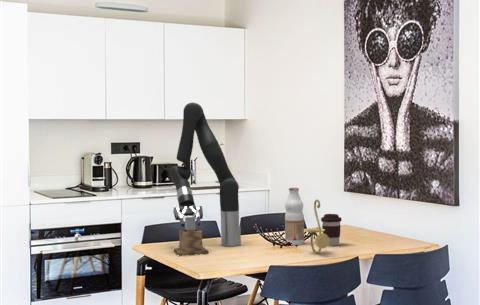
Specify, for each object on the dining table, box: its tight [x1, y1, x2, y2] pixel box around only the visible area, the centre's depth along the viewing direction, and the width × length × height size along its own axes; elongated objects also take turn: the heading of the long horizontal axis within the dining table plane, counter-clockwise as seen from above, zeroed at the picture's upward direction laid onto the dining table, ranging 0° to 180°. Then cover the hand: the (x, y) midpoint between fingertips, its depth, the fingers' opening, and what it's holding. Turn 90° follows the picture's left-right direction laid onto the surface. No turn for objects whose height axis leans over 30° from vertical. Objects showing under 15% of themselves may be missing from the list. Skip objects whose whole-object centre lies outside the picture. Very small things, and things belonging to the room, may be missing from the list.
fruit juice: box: [284, 187, 305, 246], centre depth 303 cm, size 9×9×28 cm
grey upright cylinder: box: [184, 216, 197, 232], centre depth 284 cm, size 4×4×10 cm
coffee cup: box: [320, 213, 342, 247], centre depth 297 cm, size 10×10×15 cm
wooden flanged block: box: [173, 228, 210, 257], centre depth 284 cm, size 14×12×10 cm
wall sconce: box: [304, 198, 329, 255], centre depth 275 cm, size 14×10×25 cm
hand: (191, 225), depth 282 cm, fingers open, 6 cm apart
